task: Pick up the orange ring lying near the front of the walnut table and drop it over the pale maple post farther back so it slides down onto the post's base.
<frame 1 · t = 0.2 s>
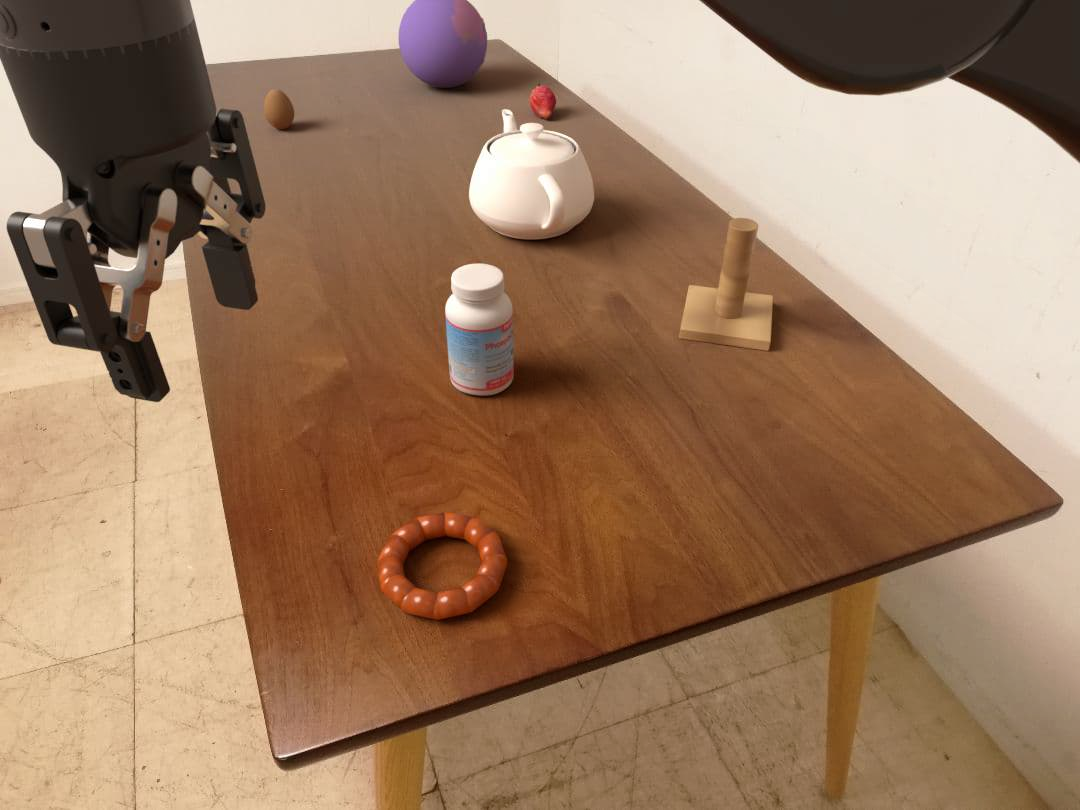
hand: (197, 346, 43), 23 cm above the table, tool pointing down, fingers open, 8 cm apart
ring: (442, 563, 60), point 1 cm above the table
post: (726, 321, 86), on the table
egg: (282, 129, 128), on the table
fruit: (543, 116, 133), on the table
decorative ball: (446, 86, 144), on the table
pill bottle: (482, 380, 78), on the table
teapot: (529, 219, 105), on the table
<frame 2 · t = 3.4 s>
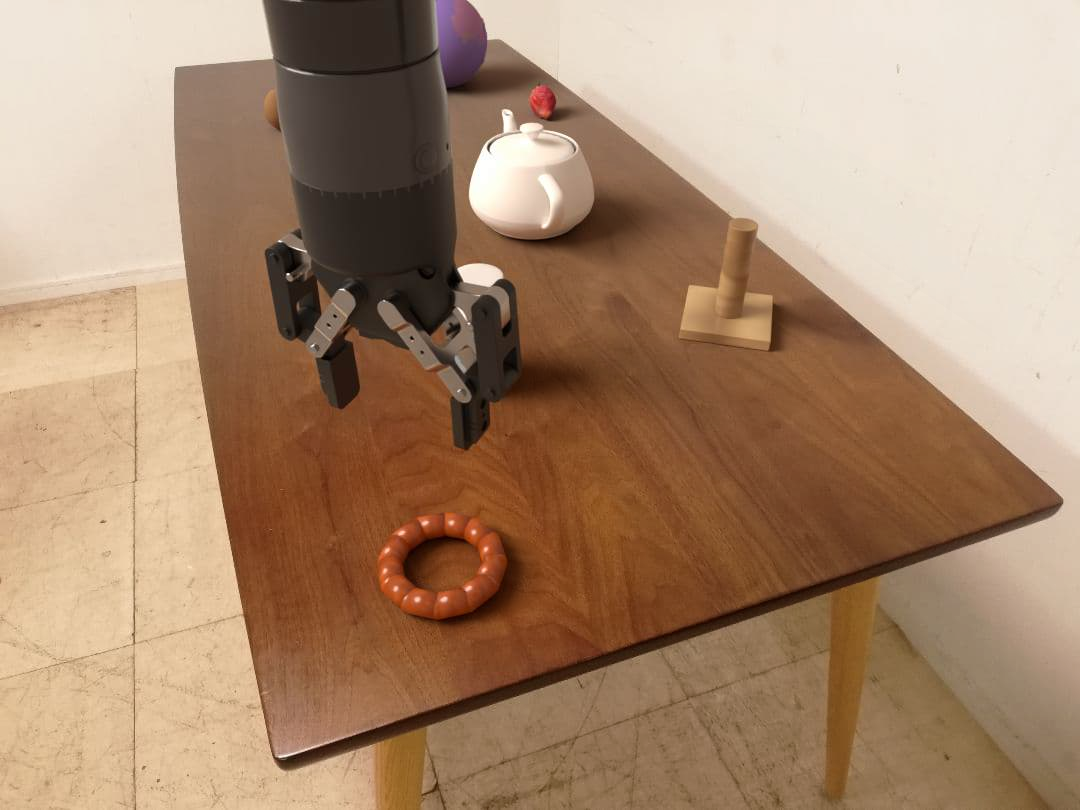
hand: (405, 419, 48), 16 cm above the table, tool pointing down, fingers open, 8 cm apart
nothing on the table moved.
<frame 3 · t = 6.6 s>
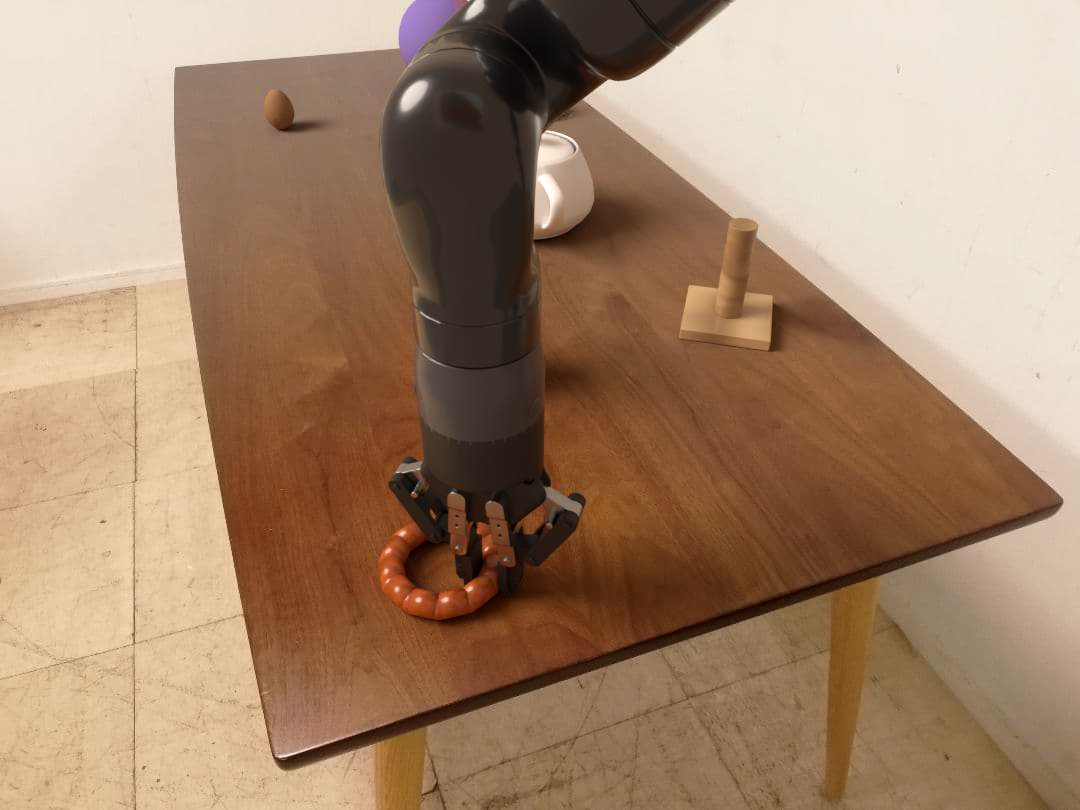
hand: (490, 582, 59), 0 cm above the table, tool pointing down, fingers closed on ring, 2 cm apart
ring: (443, 563, 60), point 1 cm above the table, touching gripper
everything else where it was.
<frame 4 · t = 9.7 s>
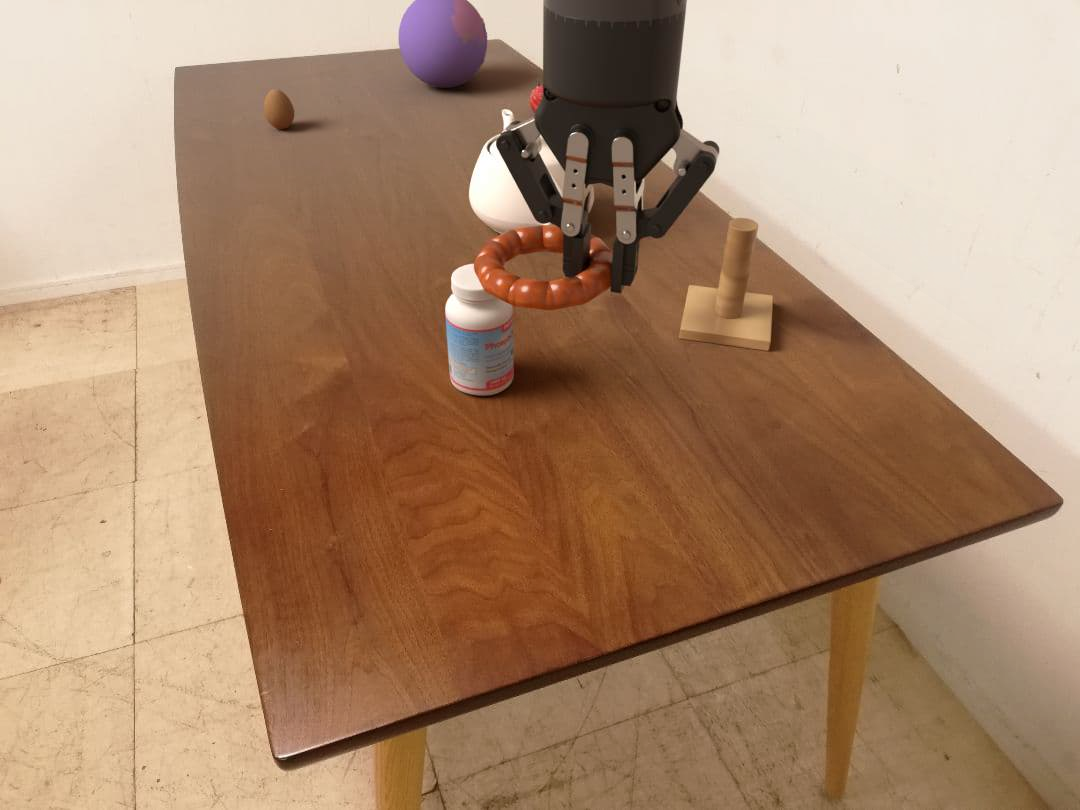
hand: (598, 283, 54), 20 cm above the table, tool pointing down, fingers closed on ring
ring: (545, 265, 54), point 21 cm above the table, touching gripper
everything else where it was.
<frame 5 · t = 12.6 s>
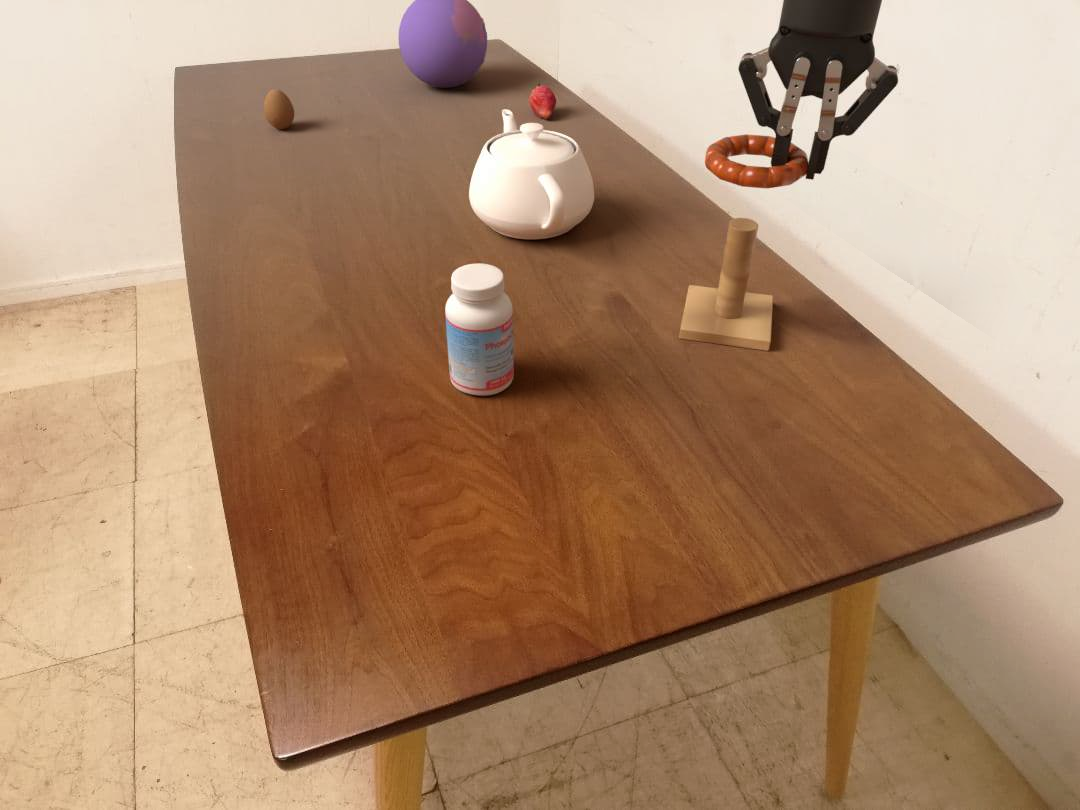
hand: (794, 173, 75), 17 cm above the table, tool pointing down, fingers closed on ring
ring: (756, 160, 75), point 18 cm above the table, touching gripper
everything else where it was.
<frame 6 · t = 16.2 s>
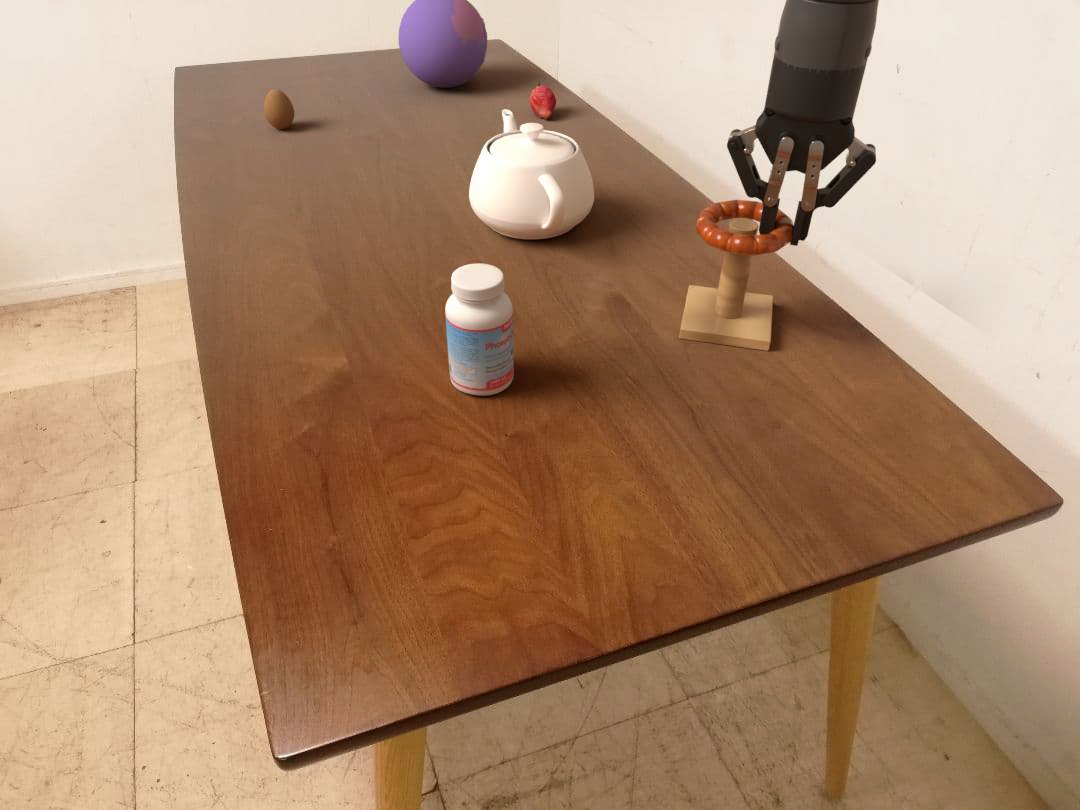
hand: (780, 239, 79), 10 cm above the table, tool pointing down, fingers closed on ring
ring: (744, 226, 79), point 11 cm above the table, touching gripper
everything else where it was.
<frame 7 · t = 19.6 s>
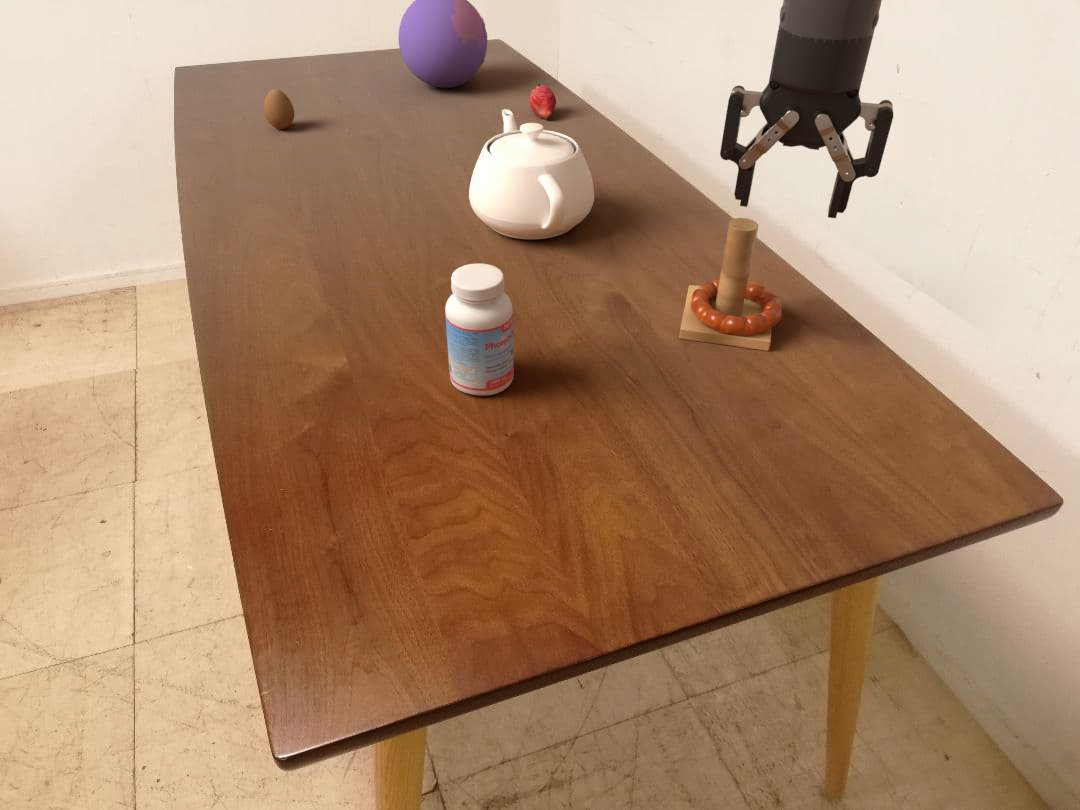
hand: (787, 208, 77), 13 cm above the table, tool pointing down, fingers open, 7 cm apart
ring: (736, 305, 85), point 2 cm above the table, touching post
everything else where it was.
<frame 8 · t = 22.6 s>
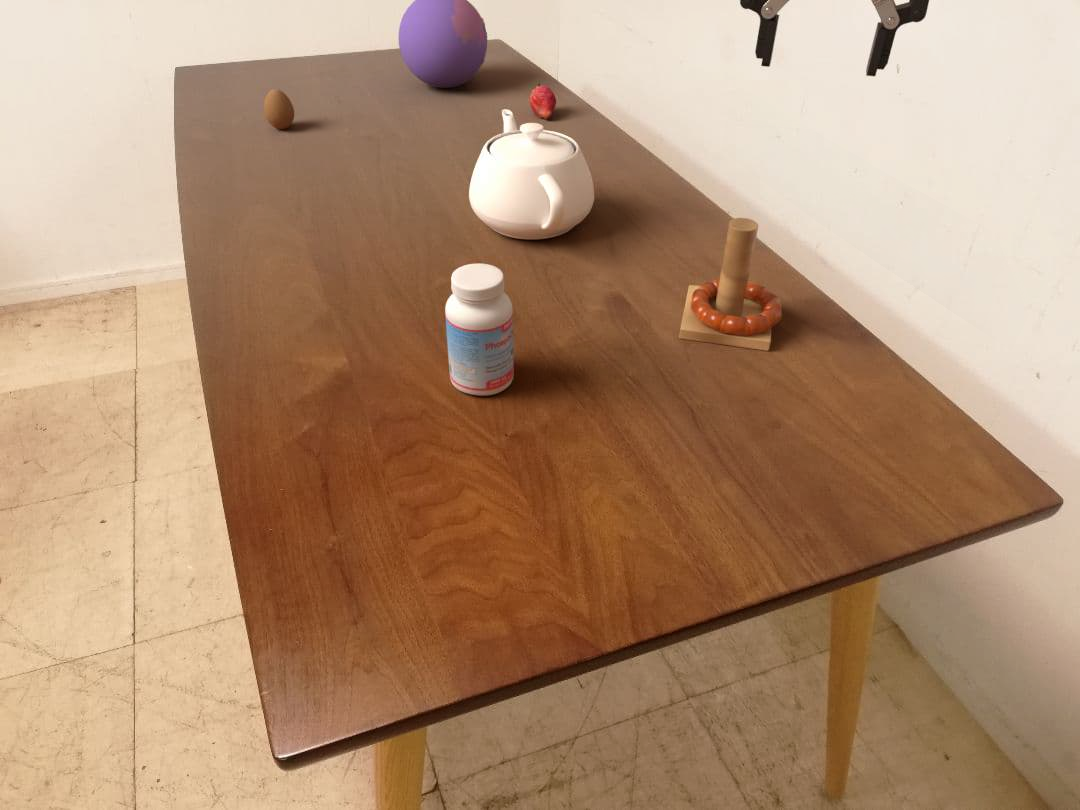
hand: (817, 68, 69), 26 cm above the table, tool pointing down, fingers open, 8 cm apart
nothing on the table moved.
at the end: ring 0.7 cm off-centre on the post, point 2.1 cm above the post's base; the gripper is holding nothing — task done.
